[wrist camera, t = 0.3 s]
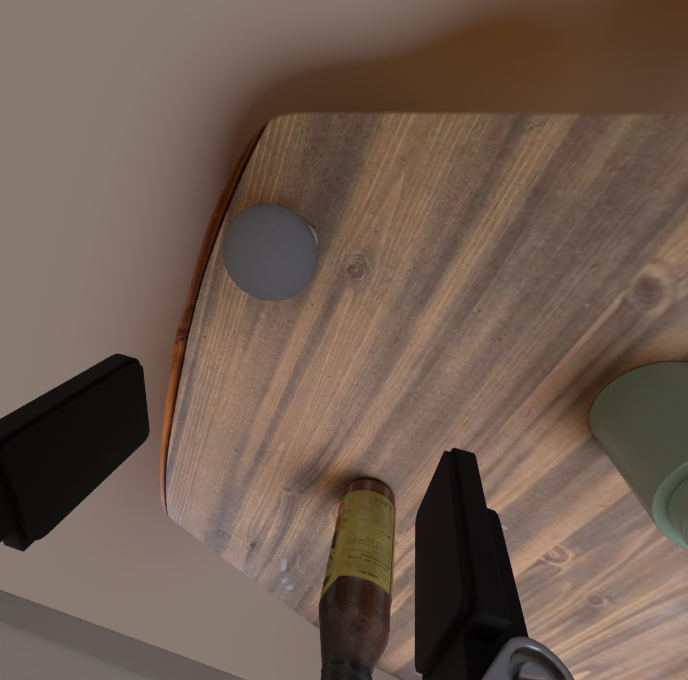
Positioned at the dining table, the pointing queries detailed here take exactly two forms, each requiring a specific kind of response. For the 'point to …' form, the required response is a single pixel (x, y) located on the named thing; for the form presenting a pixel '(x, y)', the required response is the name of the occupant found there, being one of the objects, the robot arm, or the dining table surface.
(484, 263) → the dining table surface
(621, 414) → the green lidded jar
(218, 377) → the dining table surface
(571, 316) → the dining table surface
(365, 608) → the sauce bottle
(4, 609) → the robot arm
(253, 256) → the light bulb
